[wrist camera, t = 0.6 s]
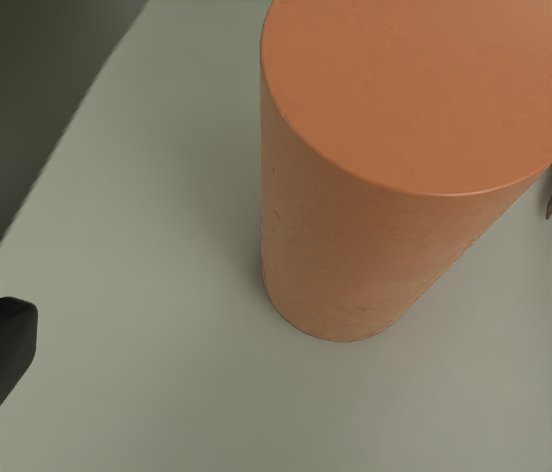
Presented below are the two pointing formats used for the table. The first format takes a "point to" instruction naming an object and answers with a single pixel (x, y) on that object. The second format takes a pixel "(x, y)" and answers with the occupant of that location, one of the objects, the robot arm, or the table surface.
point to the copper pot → (392, 146)
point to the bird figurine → (549, 209)
